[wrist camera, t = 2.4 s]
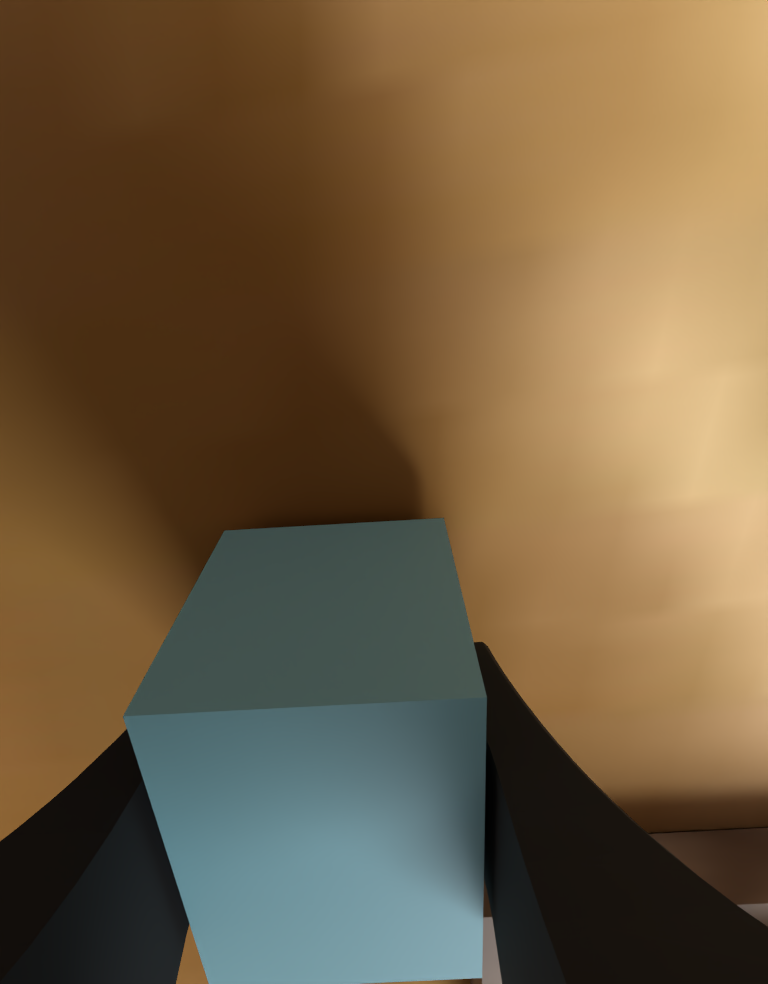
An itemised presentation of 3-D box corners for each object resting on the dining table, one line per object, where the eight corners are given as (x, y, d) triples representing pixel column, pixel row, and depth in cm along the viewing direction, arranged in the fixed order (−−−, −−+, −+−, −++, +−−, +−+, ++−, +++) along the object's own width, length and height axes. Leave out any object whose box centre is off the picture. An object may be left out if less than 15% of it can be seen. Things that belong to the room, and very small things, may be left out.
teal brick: (443, 517, 12) (486, 696, 7) (447, 736, 14) (482, 977, 9) (224, 530, 12) (123, 716, 7) (266, 746, 14) (211, 989, 9)
